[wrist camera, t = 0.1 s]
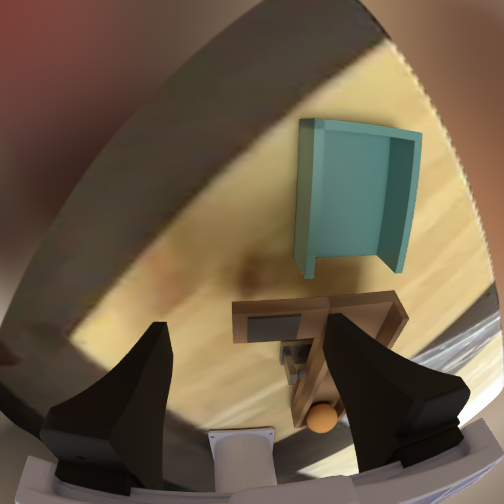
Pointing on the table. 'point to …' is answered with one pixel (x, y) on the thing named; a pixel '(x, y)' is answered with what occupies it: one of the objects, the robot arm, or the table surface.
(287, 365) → the fulcrum
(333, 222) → the teal open-ended tray
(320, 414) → the ball
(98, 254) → the table surface
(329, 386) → the lever
